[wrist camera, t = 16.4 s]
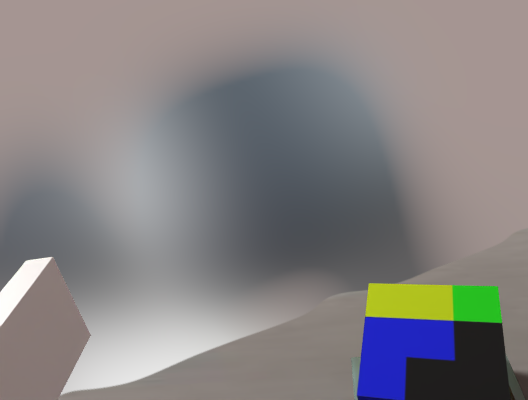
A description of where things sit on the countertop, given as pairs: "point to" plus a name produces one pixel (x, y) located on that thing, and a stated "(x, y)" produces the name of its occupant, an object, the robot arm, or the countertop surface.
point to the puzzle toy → (433, 344)
